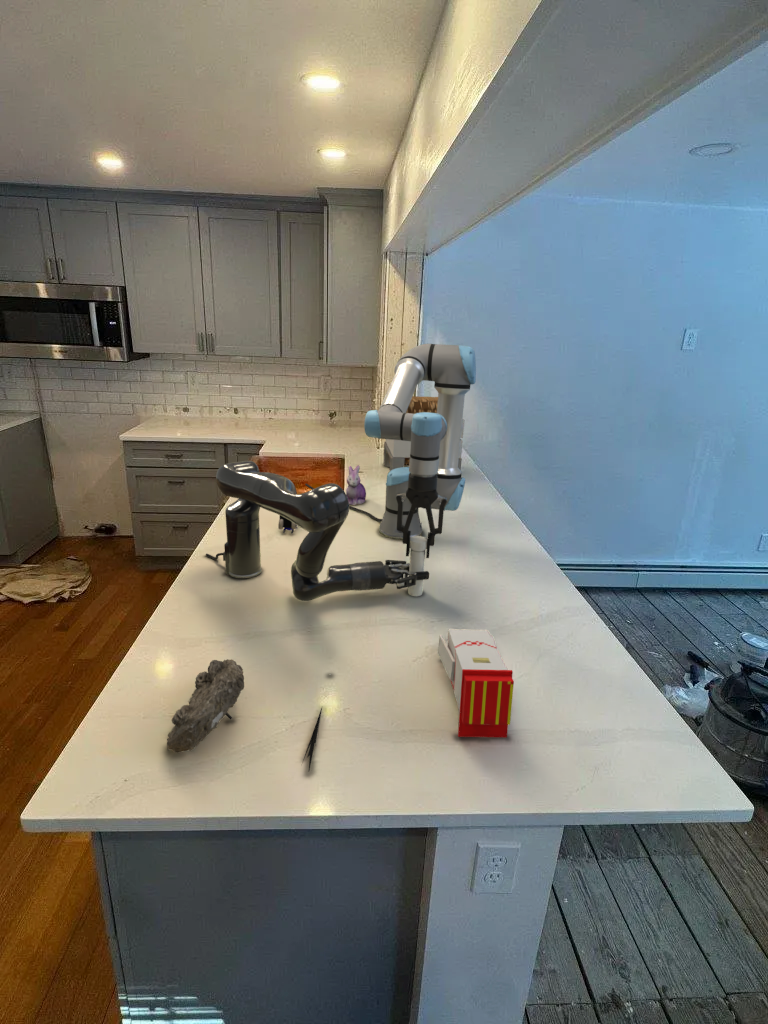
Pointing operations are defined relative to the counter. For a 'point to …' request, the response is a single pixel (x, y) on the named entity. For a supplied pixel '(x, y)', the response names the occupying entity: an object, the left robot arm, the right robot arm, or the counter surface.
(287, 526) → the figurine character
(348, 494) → the figurine
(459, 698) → the toy
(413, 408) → the white slatted crate
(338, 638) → the counter surface
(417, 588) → the white long cylinder
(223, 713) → the fossil
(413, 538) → the lid
